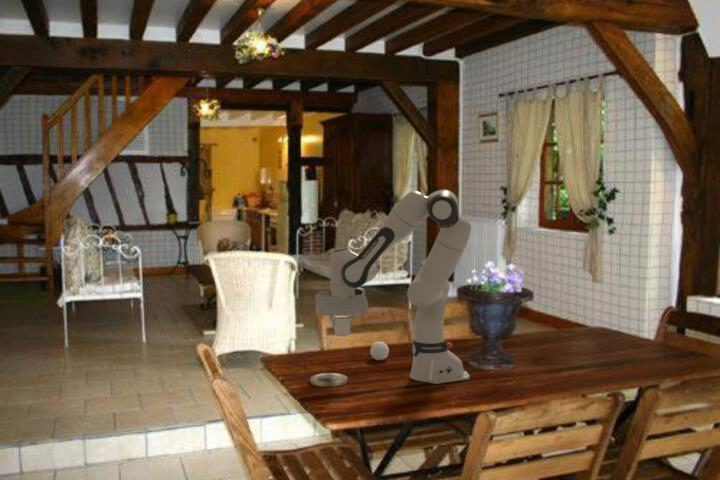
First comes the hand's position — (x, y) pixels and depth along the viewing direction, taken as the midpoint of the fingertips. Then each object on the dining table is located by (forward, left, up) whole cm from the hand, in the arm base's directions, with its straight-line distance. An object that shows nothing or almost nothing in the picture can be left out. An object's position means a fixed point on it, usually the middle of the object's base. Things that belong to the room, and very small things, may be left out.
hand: (342, 325), depth 277 cm
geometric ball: (-19, -16, -19) cm, 31 cm away
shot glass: (0, 0, -4) cm, 4 cm away
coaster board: (+7, +10, -19) cm, 22 cm away
